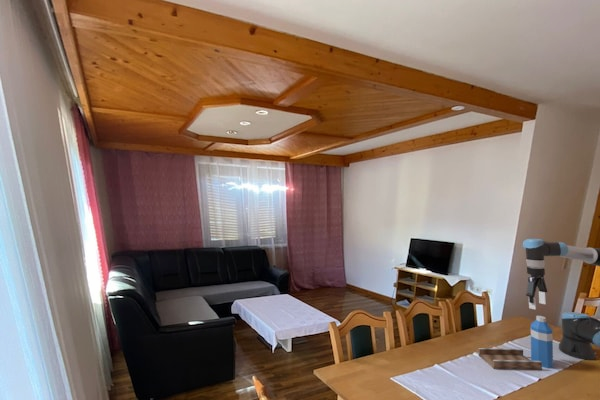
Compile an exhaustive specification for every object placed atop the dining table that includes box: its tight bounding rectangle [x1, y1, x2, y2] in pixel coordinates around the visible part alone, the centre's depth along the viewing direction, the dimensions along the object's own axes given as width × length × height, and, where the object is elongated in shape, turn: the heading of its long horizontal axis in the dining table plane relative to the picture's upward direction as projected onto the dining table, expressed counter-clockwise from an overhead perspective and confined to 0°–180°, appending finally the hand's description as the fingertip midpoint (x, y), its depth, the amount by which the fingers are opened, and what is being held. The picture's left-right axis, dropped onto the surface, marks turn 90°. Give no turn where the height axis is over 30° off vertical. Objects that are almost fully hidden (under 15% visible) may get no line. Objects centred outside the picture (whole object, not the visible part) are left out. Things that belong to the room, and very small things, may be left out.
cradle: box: [478, 347, 543, 371], centre depth 151 cm, size 24×13×4 cm, turn 89°
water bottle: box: [530, 315, 554, 369], centre depth 151 cm, size 9×9×25 cm
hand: (537, 306), depth 151 cm, fingers open, 13 cm apart
